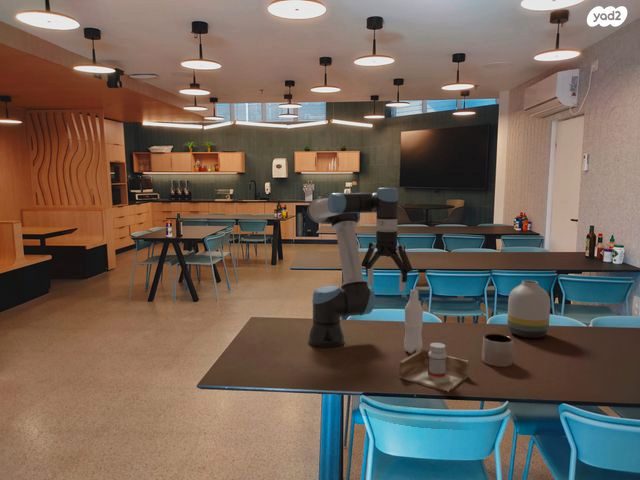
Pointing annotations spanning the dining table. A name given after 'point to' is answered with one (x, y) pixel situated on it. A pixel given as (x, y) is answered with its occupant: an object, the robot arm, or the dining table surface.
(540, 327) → the vase
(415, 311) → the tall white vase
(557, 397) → the dining table surface
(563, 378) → the dining table surface
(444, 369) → the pill bottle
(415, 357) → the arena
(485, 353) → the planter
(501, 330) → the dining table surface
